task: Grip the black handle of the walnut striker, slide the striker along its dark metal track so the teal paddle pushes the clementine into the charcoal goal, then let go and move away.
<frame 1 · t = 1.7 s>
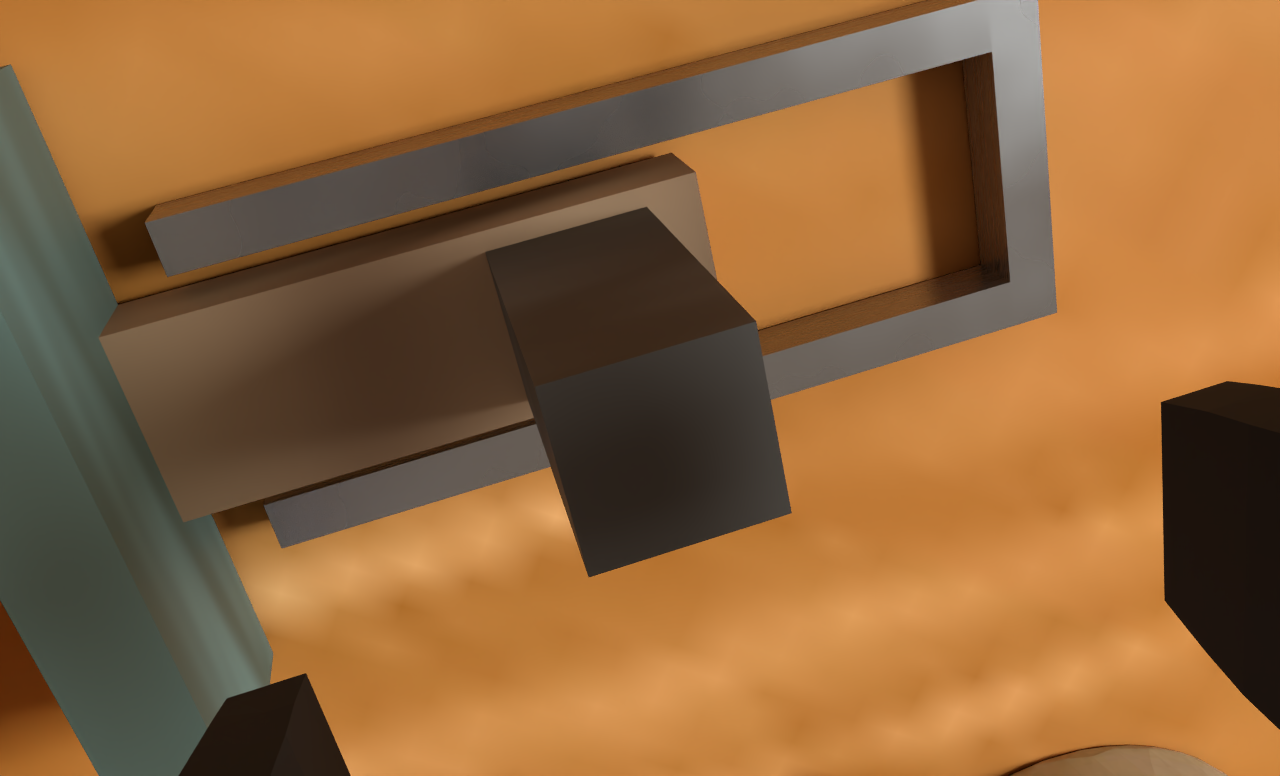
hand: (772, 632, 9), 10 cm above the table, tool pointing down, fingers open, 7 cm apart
striker: (389, 413, 15), point 3 cm above the table, slide at 0.0 cm
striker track: (612, 261, 18), on the table
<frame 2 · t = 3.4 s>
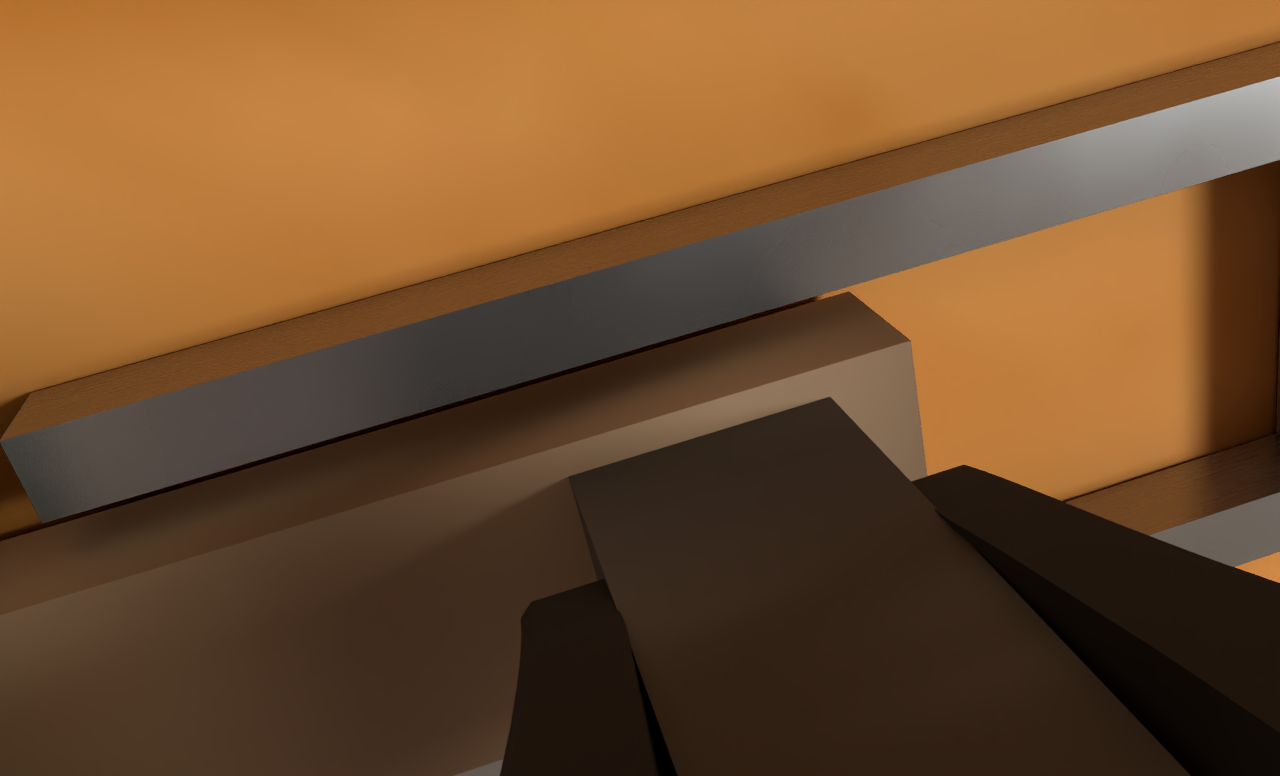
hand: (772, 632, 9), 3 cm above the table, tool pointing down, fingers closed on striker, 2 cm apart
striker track: (749, 449, 12), on the table
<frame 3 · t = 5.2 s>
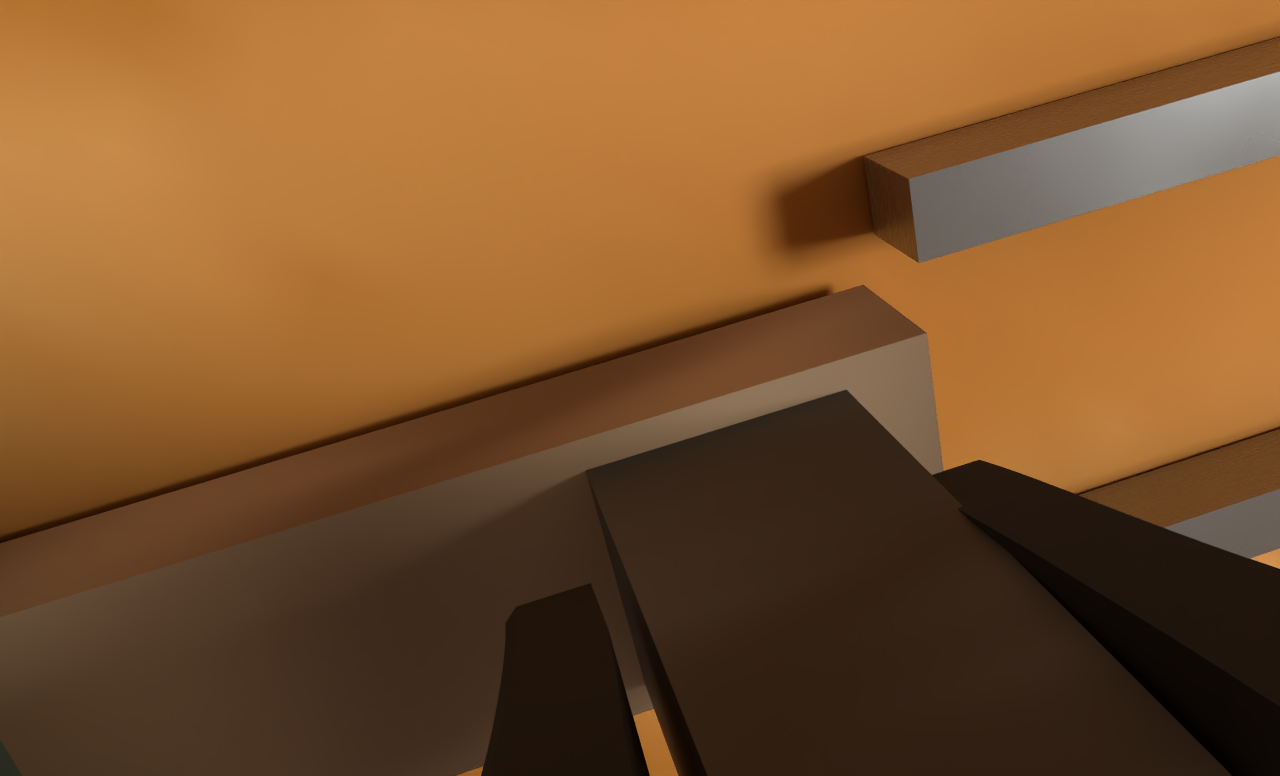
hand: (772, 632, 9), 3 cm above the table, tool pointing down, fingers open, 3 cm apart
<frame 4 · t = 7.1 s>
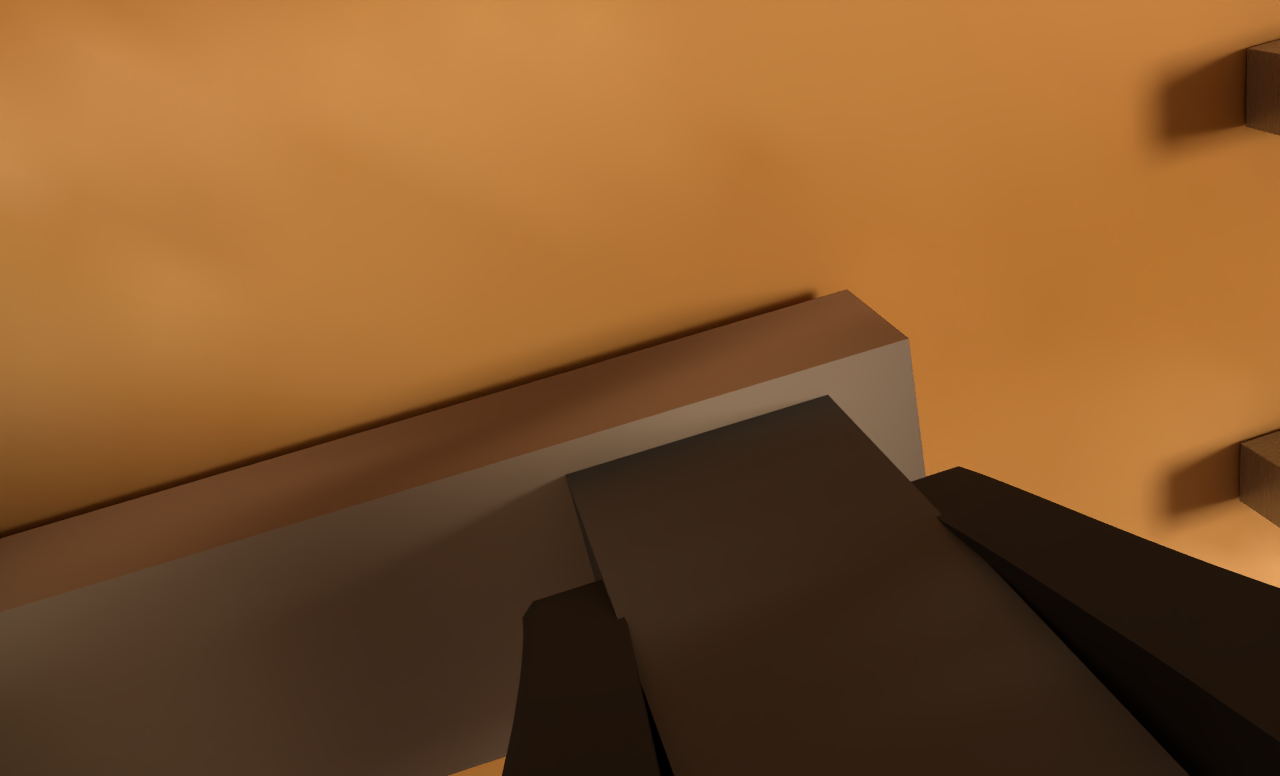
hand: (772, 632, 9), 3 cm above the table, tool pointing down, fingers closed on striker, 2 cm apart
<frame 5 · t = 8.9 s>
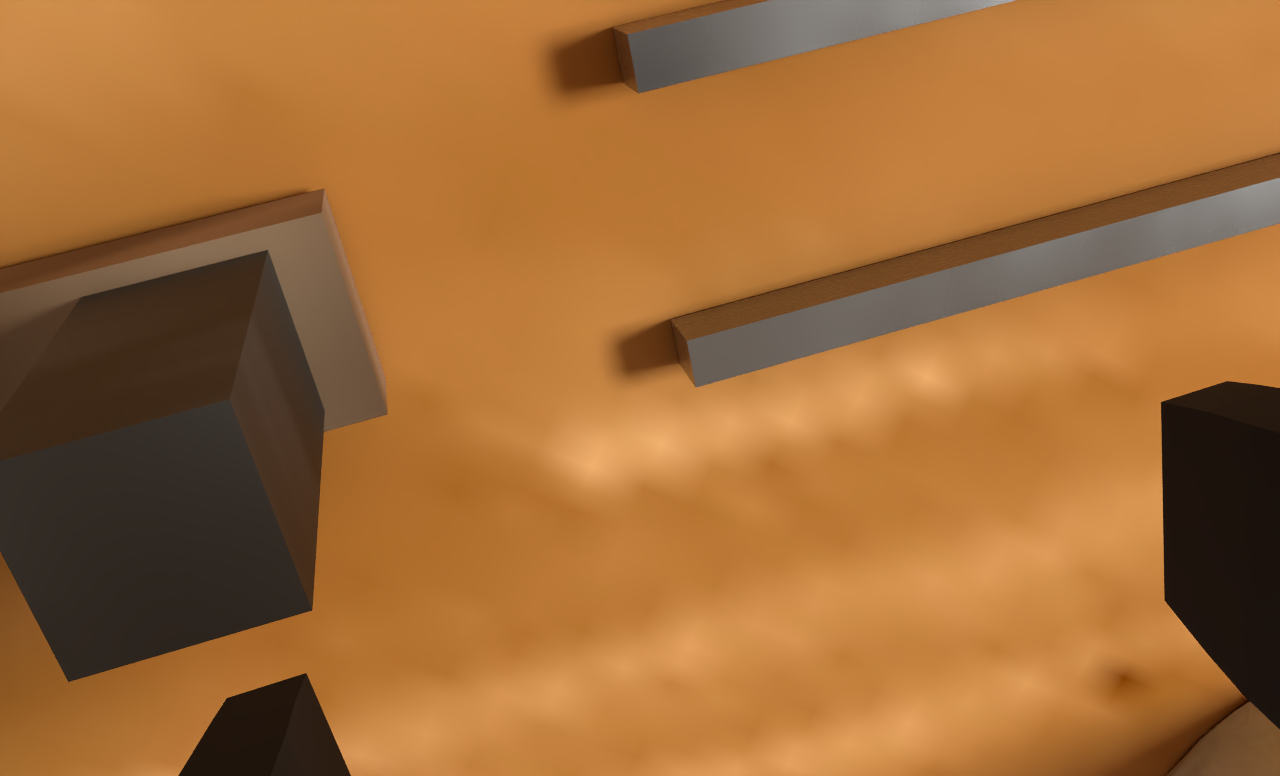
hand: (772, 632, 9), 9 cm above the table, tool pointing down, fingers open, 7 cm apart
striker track: (1021, 109, 18), on the table
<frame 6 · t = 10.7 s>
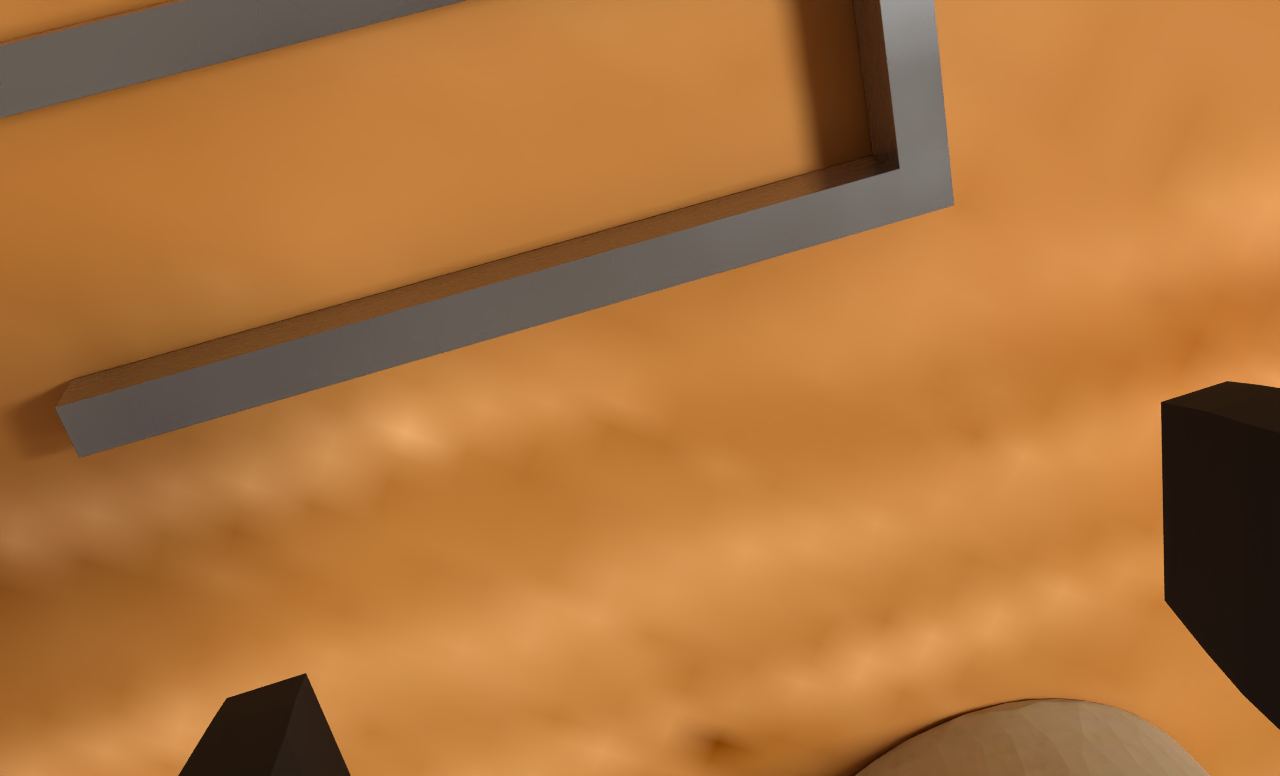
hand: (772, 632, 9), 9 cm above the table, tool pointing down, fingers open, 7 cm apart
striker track: (453, 140, 16), on the table
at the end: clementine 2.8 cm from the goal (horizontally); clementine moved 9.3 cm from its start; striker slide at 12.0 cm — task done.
